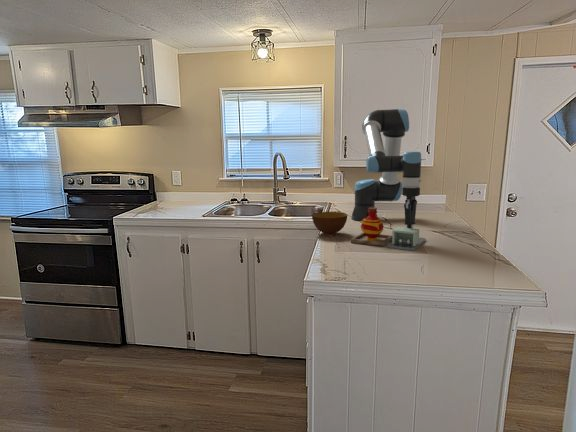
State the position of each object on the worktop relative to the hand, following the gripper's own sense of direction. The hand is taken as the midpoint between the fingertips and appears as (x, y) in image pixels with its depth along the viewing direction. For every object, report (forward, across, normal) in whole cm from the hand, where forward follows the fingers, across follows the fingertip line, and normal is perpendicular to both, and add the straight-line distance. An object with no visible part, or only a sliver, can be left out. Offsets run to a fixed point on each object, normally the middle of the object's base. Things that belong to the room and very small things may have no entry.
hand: (409, 238), depth 184 cm
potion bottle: (+2, -4, +16) cm, 17 cm away
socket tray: (+2, -4, +16) cm, 17 cm away
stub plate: (+2, -2, 0) cm, 3 cm away
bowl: (+2, 0, +40) cm, 40 cm away
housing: (+1, -6, 0) cm, 6 cm away
